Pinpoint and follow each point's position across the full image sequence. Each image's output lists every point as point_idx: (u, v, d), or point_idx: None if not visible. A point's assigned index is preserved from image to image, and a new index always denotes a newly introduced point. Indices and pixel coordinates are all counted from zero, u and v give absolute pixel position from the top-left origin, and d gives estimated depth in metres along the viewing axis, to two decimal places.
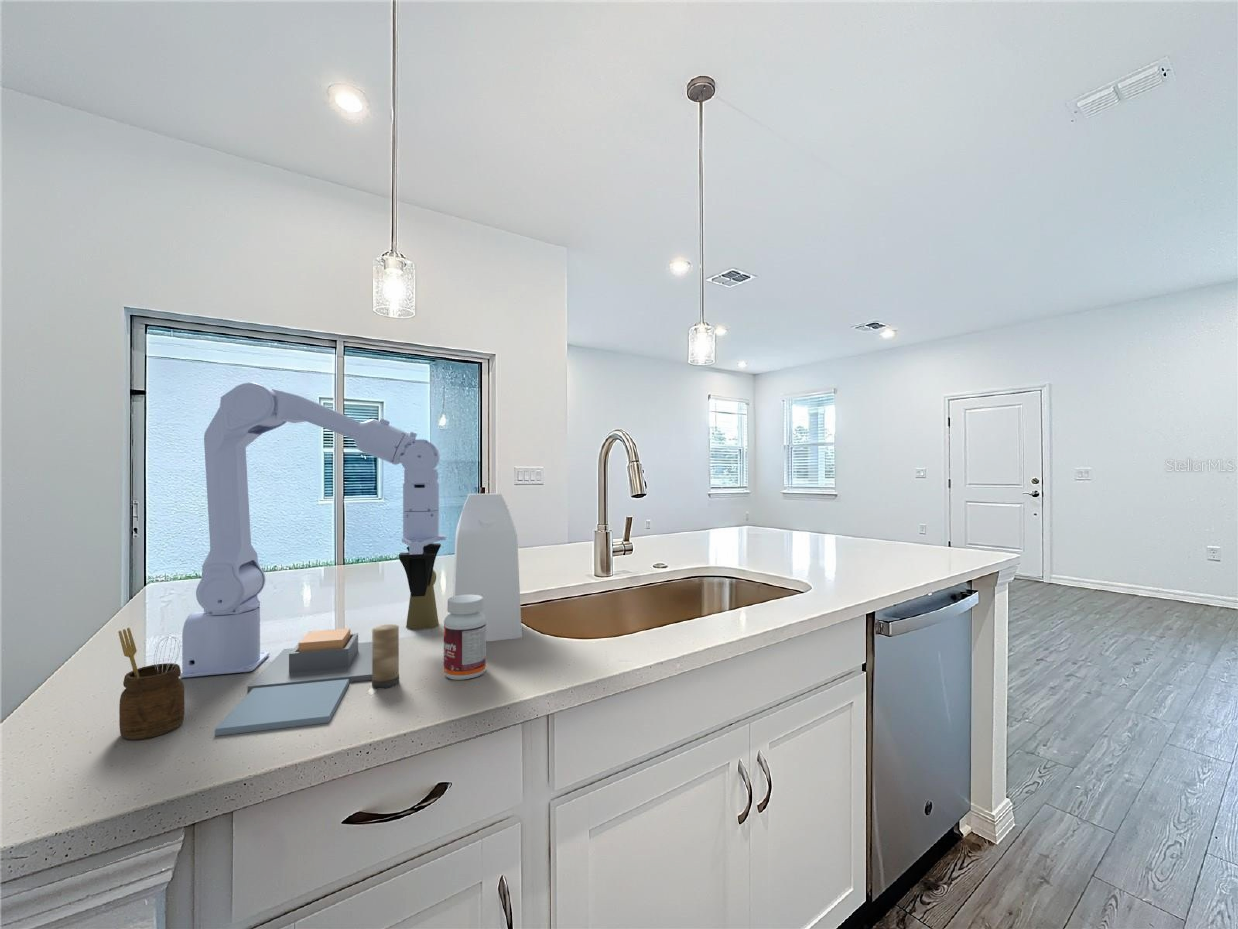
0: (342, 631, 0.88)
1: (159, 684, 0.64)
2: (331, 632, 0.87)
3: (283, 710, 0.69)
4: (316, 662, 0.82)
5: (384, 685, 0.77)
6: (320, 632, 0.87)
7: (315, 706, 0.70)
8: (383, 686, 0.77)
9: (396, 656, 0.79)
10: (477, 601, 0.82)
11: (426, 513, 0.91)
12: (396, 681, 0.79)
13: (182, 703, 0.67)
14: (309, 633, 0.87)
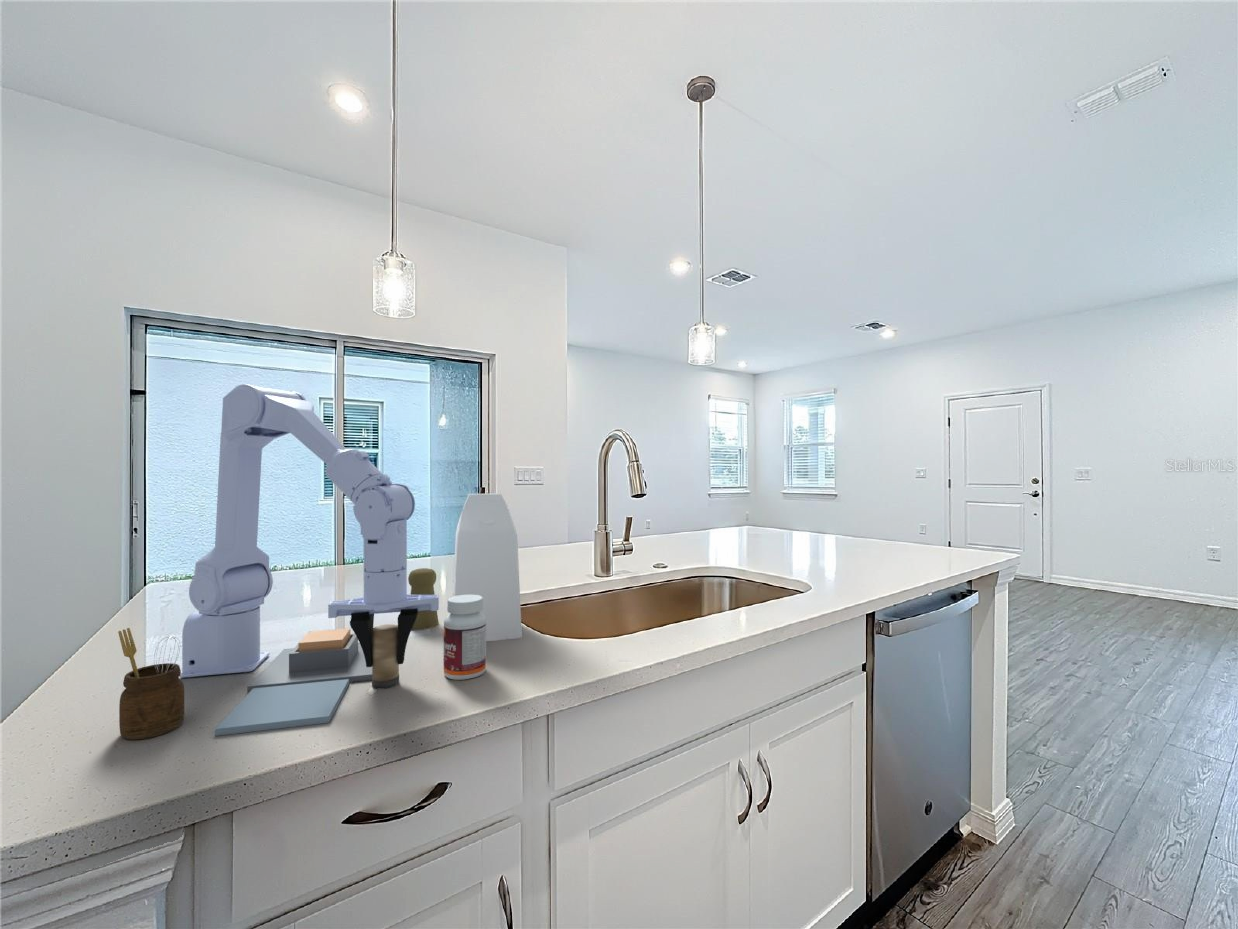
0: (342, 631, 0.88)
1: (159, 684, 0.64)
2: (331, 632, 0.87)
3: (283, 710, 0.69)
4: (316, 662, 0.82)
5: (384, 685, 0.77)
6: (320, 632, 0.87)
7: (315, 706, 0.70)
8: (383, 686, 0.77)
9: (396, 656, 0.79)
10: (477, 601, 0.82)
11: (364, 573, 0.77)
12: (396, 681, 0.79)
13: (182, 703, 0.67)
14: (309, 633, 0.87)
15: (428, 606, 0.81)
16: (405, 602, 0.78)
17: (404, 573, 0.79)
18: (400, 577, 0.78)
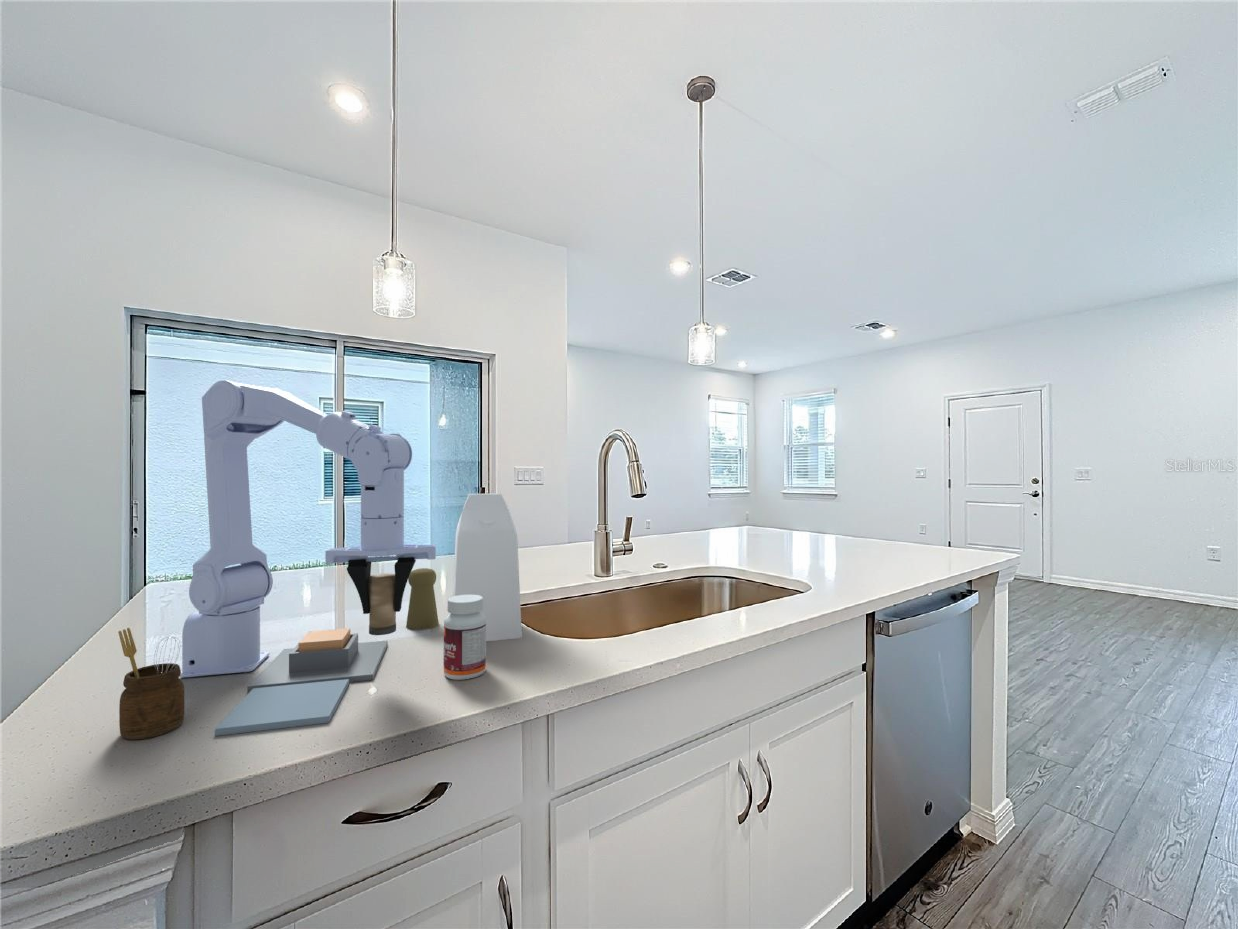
0: (342, 631, 0.88)
1: (159, 684, 0.64)
2: (331, 632, 0.87)
3: (283, 710, 0.69)
4: (316, 662, 0.82)
5: (381, 632, 0.78)
6: (320, 632, 0.87)
7: (315, 706, 0.70)
8: (380, 633, 0.78)
9: (393, 603, 0.79)
10: (477, 601, 0.82)
11: (361, 520, 0.78)
12: (393, 628, 0.79)
13: (182, 703, 0.67)
14: (309, 633, 0.87)
15: (425, 555, 0.81)
16: (402, 549, 0.78)
17: (401, 521, 0.79)
18: (397, 524, 0.78)
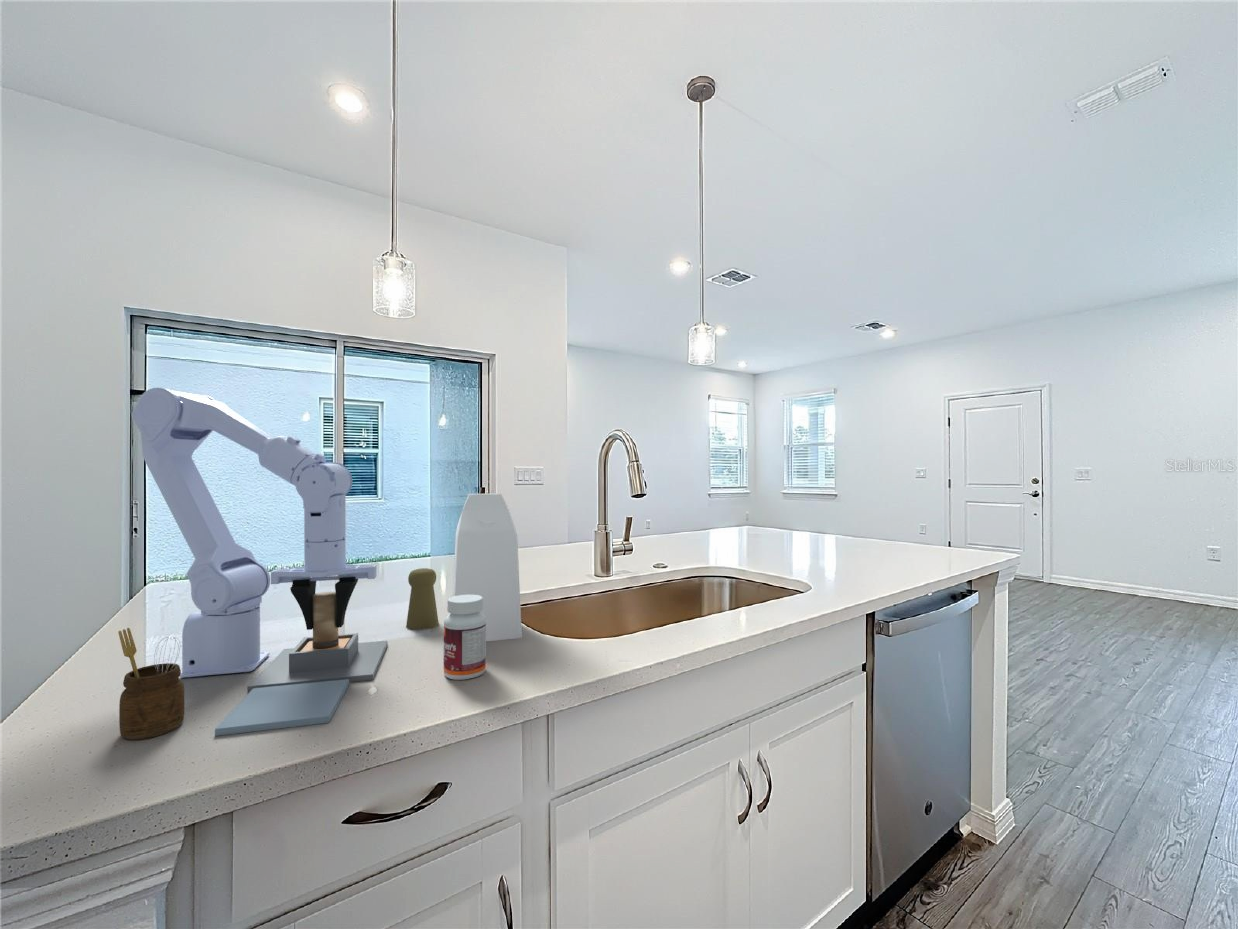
0: (342, 641, 0.88)
1: (159, 684, 0.64)
2: None
3: (283, 710, 0.69)
4: (316, 662, 0.82)
5: (323, 646, 0.84)
6: None
7: (315, 706, 0.70)
8: (322, 647, 0.84)
9: (335, 619, 0.86)
10: (477, 601, 0.82)
11: (304, 543, 0.84)
12: (335, 643, 0.86)
13: (182, 703, 0.67)
14: (309, 643, 0.87)
15: (365, 575, 0.87)
16: (342, 570, 0.85)
17: (342, 544, 0.86)
18: (338, 547, 0.85)
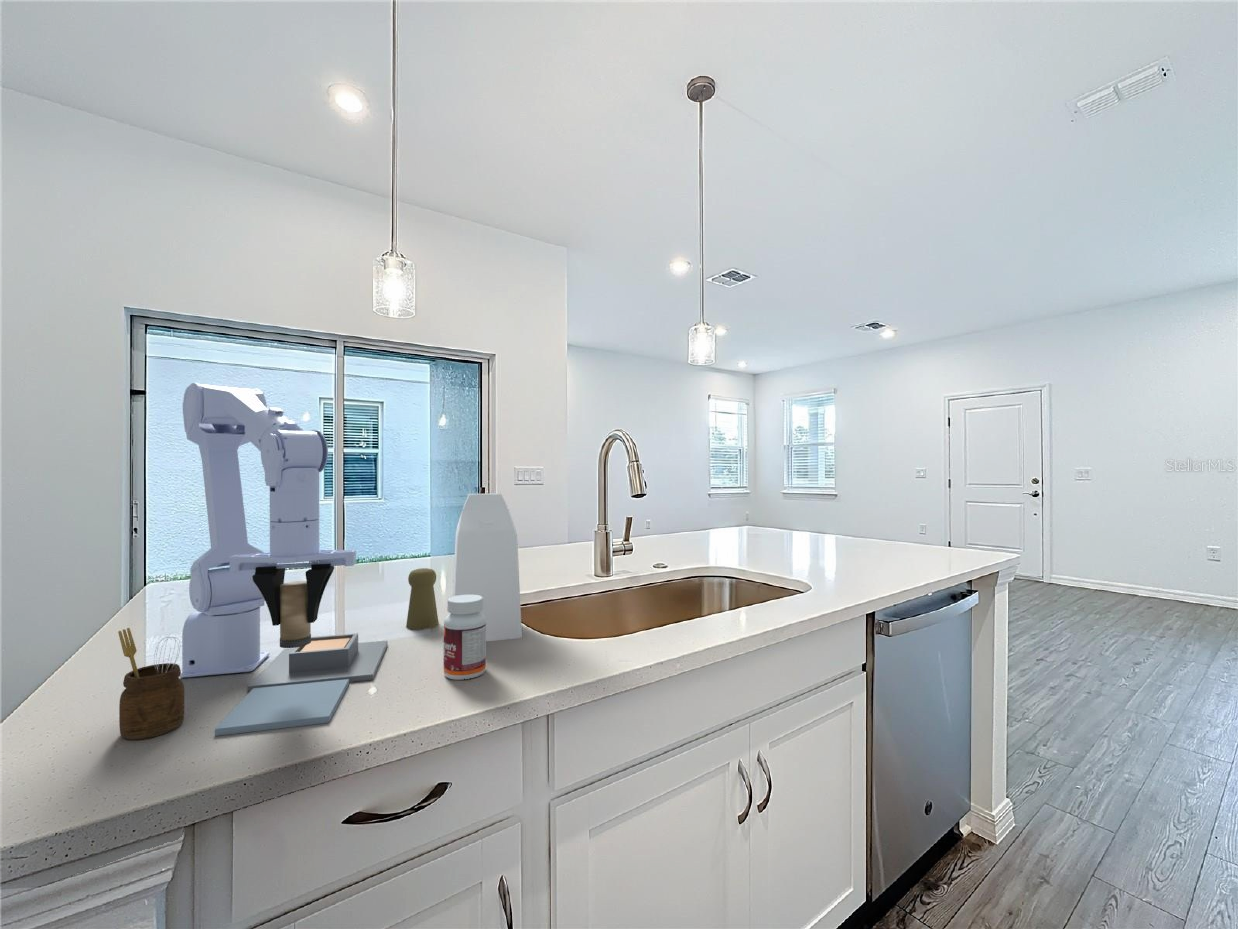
0: (342, 641, 0.88)
1: (159, 684, 0.64)
2: (331, 642, 0.87)
3: (283, 710, 0.69)
4: (316, 662, 0.82)
5: (292, 644, 0.72)
6: (320, 642, 0.87)
7: (315, 706, 0.70)
8: (291, 645, 0.72)
9: (306, 613, 0.73)
10: (477, 601, 0.82)
11: (270, 524, 0.72)
12: (306, 641, 0.73)
13: (182, 703, 0.67)
14: (309, 643, 0.87)
15: (342, 561, 0.75)
16: (315, 555, 0.72)
17: (315, 525, 0.73)
18: (309, 528, 0.72)
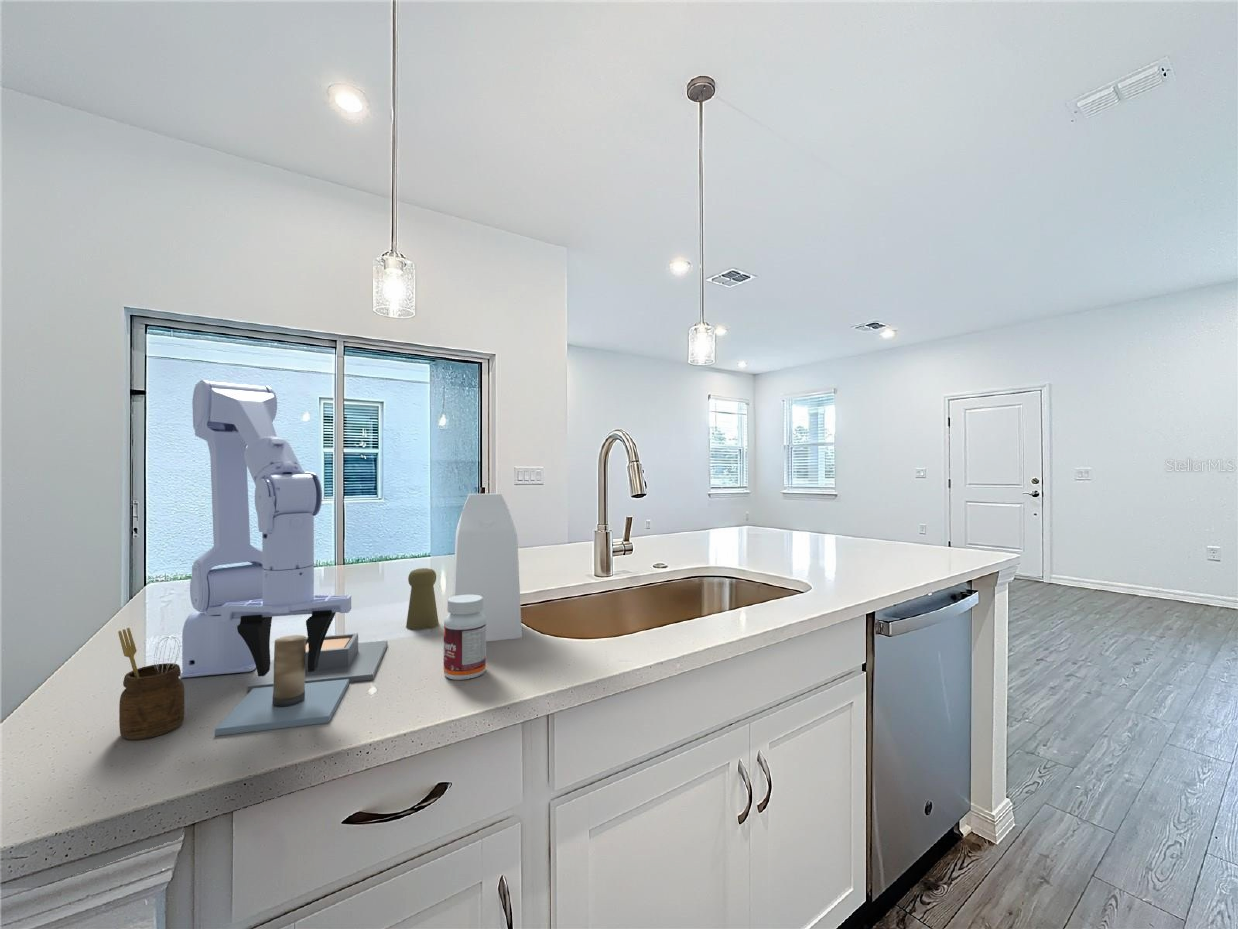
0: (342, 641, 0.88)
1: (159, 684, 0.64)
2: (331, 642, 0.87)
3: (283, 710, 0.69)
4: None
5: (285, 703, 0.70)
6: None
7: (315, 706, 0.70)
8: (284, 704, 0.70)
9: (301, 670, 0.71)
10: (477, 601, 0.82)
11: (262, 571, 0.69)
12: (300, 699, 0.71)
13: (182, 703, 0.67)
14: None
15: (338, 608, 0.73)
16: (309, 603, 0.70)
17: (309, 571, 0.71)
18: (303, 576, 0.70)
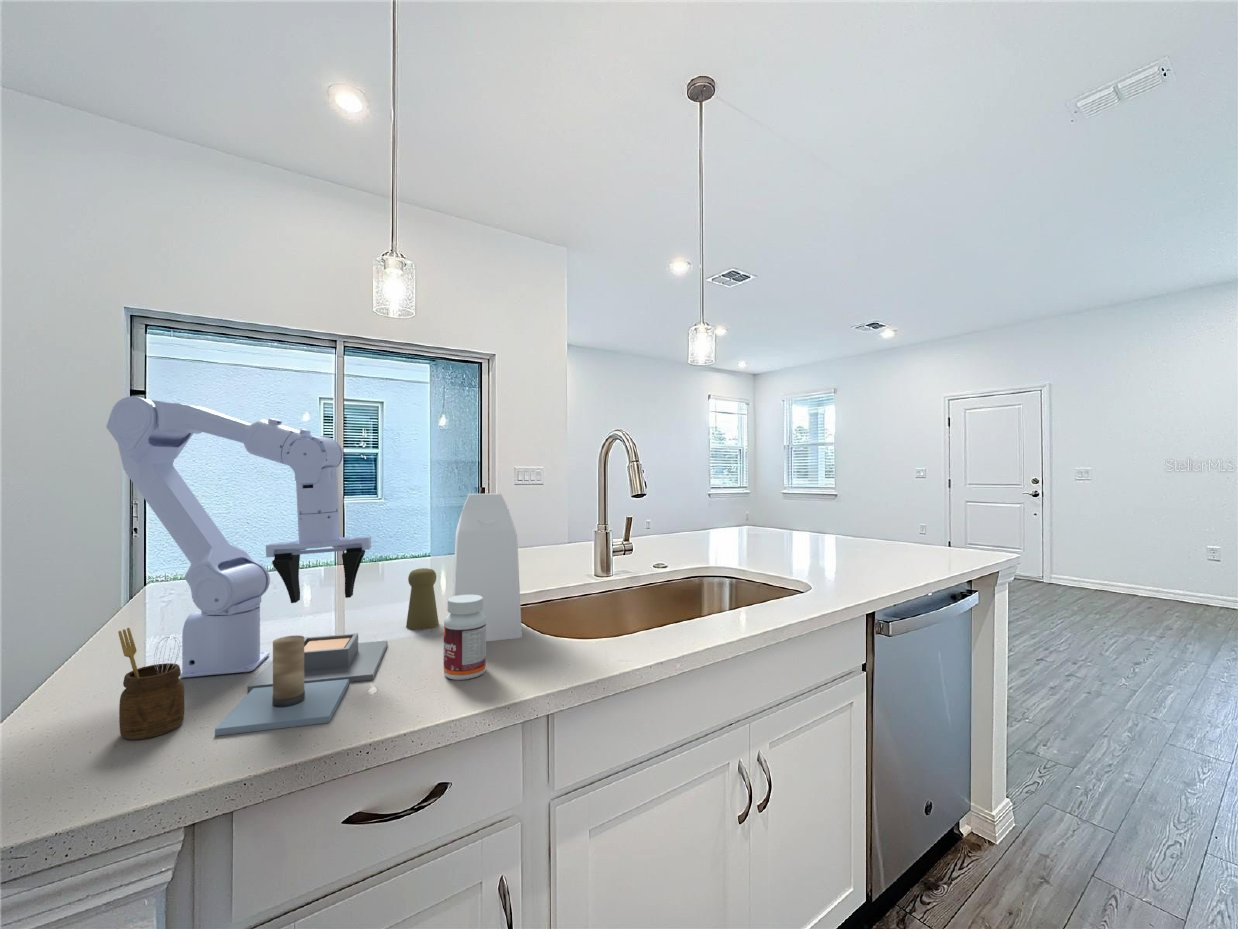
0: (342, 641, 0.88)
1: (159, 684, 0.64)
2: (331, 642, 0.87)
3: (283, 710, 0.69)
4: (316, 662, 0.82)
5: (285, 703, 0.70)
6: (320, 642, 0.87)
7: (315, 706, 0.70)
8: (284, 704, 0.70)
9: (300, 670, 0.71)
10: (477, 601, 0.82)
11: None
12: (300, 699, 0.71)
13: (182, 703, 0.67)
14: (309, 643, 0.87)
15: (360, 546, 0.88)
16: (336, 541, 0.85)
17: (335, 515, 0.86)
18: (331, 519, 0.85)
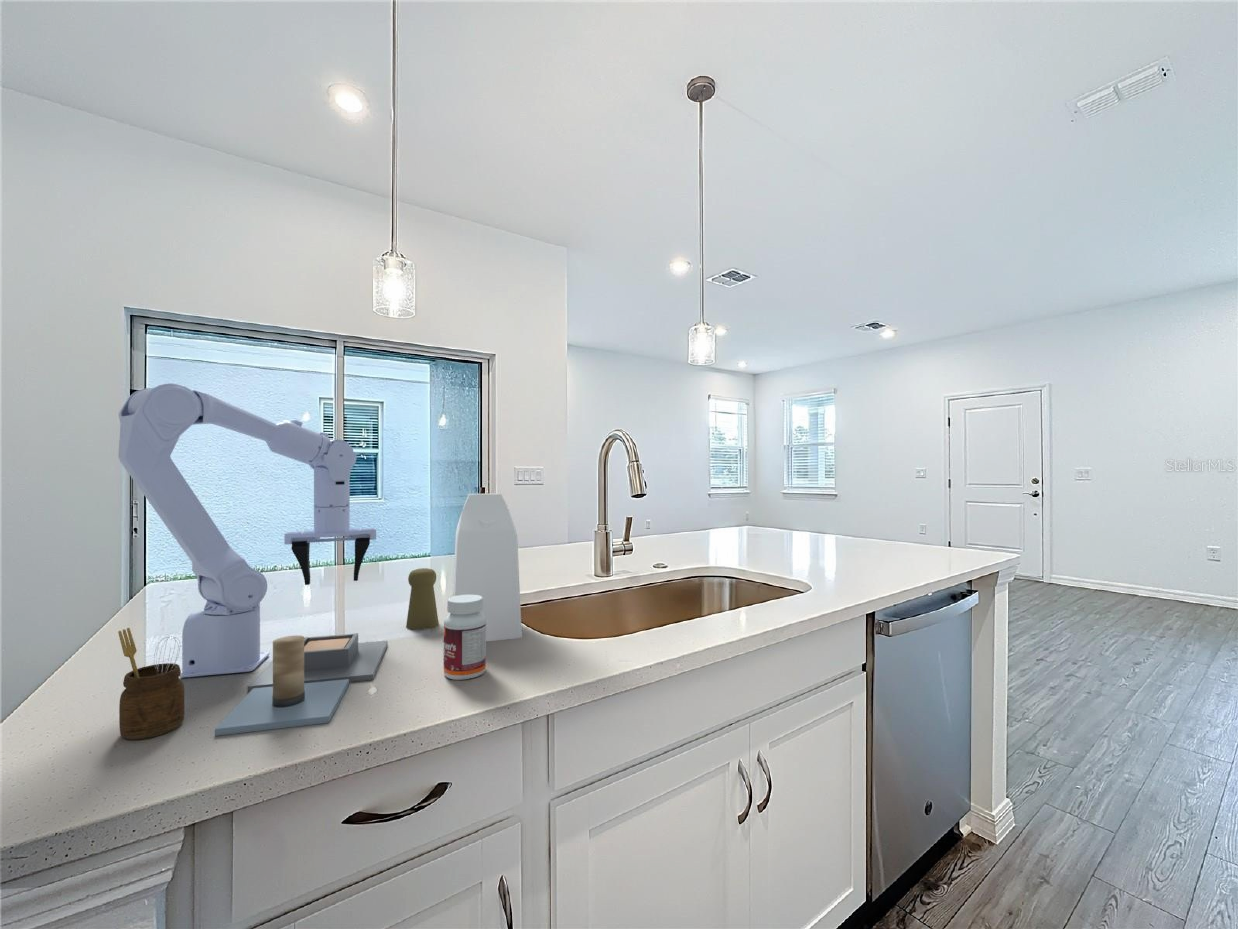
0: (342, 641, 0.88)
1: (159, 684, 0.64)
2: (331, 642, 0.87)
3: (283, 710, 0.69)
4: (316, 662, 0.82)
5: (285, 703, 0.70)
6: (320, 642, 0.87)
7: (315, 706, 0.70)
8: (284, 704, 0.70)
9: (300, 670, 0.71)
10: (477, 601, 0.82)
11: (315, 508, 0.97)
12: (300, 699, 0.71)
13: (182, 703, 0.67)
14: (309, 643, 0.87)
15: (367, 536, 1.01)
16: (349, 531, 0.98)
17: (348, 509, 0.99)
18: (345, 512, 0.98)
